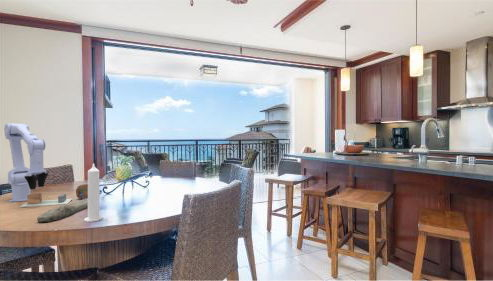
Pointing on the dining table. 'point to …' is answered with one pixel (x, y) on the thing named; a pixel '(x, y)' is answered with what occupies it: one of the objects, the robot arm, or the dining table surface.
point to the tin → (82, 191)
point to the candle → (93, 195)
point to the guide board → (50, 202)
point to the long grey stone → (62, 211)
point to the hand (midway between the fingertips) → (37, 188)
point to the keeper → (34, 198)
